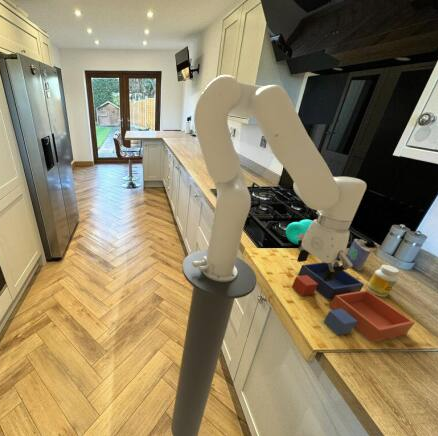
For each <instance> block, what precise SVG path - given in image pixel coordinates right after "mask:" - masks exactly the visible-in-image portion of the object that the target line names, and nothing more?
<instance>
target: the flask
mask: <svg viewBox="0 0 438 436" xmlns="http://www.w3.org/2000/svg"><path fill="white" fill-rule="evenodd" d="M367 243H368V242H367V240H366V241H365V240H364V239H358V238H354V239H353V241H352V243H351V245H350V247H349V248H348V250H347V252H346V253H345V255H346V256H347V258H348V259H349V260H350V262H351V263H352V264H353V266H352V267H351V268H352V269H353V270H355V271H358V272H359V271H362V269H363V268H364V265H365V263H366V262H367V259H369V256H370V254H371V252H372V250H371V249H370V248H369V247H368V246H367V245H366V244H367Z"/></svg>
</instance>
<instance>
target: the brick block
mask: <svg viewBox="0 0 438 436" xmlns="http://www.w3.org/2000/svg"><path fill="white" fill-rule="evenodd" d="M317 286H318V283H316V282H315V281H314V280H313V279H311V278H310V277H309V276H307V275H304V276H299V275H297V276H295V278H294V281H293V283H292V286H291V287H292V289H293V290H295V292H297V293H298V294H299V295H300V296H301V297H306V296H313V295H315V292H316V291H317V290H316V288H317Z"/></svg>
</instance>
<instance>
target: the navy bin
mask: <svg viewBox="0 0 438 436" xmlns="http://www.w3.org/2000/svg"><path fill="white" fill-rule="evenodd" d="M333 265H334V263H333ZM334 267H335V265H334ZM328 269H329V266H328V263H325V262H323V261H320V262H314V263H307V264H302V265H301V267H300V269H299V272H298V275H297V276H304V275H307V276H309V277H310V278H311V279H313V280H314V281H315V282H316V283H318V286H317V288H316V290H315V291H316V292H318V293H319V294H320V295H322V296H323V297H324V298H325V299H326V300H329V301H330V300H333V299H334V297H335V295H341V294H347V293H353V292H359V291H362V289H363V287H364V285H365V283H363V282H362V281H360V280H359V279H358V278H356V277H354V276H353V275H351V274H350V273H348V272H347V271H346V270H343V271H338V272H337V274H336V277H335V279H334V280H331V281H326V282H325V281H323V277H324V275H325V273H326V270H328Z"/></svg>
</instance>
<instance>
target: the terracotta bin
mask: <svg viewBox="0 0 438 436" xmlns="http://www.w3.org/2000/svg"><path fill="white" fill-rule="evenodd" d="M329 307H330V308H331V309H332V310H337V309H343V310H344V311H346V312H347V313H348V314H349V315H351V316H352V317H353V318H354V319H356V320H357V321H358V322H357V323H356V325H355V327H354V328H355V330H357V331H358V332H359V333H360V334H362V335H363V336H364V337H365V338H366V339H368V340H369V342H371V343H373V342H378V341H383V340H387V339H391V338H396V337H400V336H403V335H407V334H408V332H409V331H410V330H411V329H412V327H413V326H414V325H415V323H416V322H415V321H414V320H412V318H411V319H410V318H409V317H408V316H406V315H405V314H403V313H402V312H401V311H400V310H397V309H396V308H394V307H393V306H391V305H390V304H389V303H387V302H386V301H384V300H383V299H381V298H380V297H379V296H378V295H375V294H373V293H372V292H370V291H369V290H368V289H366V290H365V289H364V290H361V291H359V292H353V293H347V294H341V295H335V297H334V299H332V301H331V303H330V305H329Z"/></svg>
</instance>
